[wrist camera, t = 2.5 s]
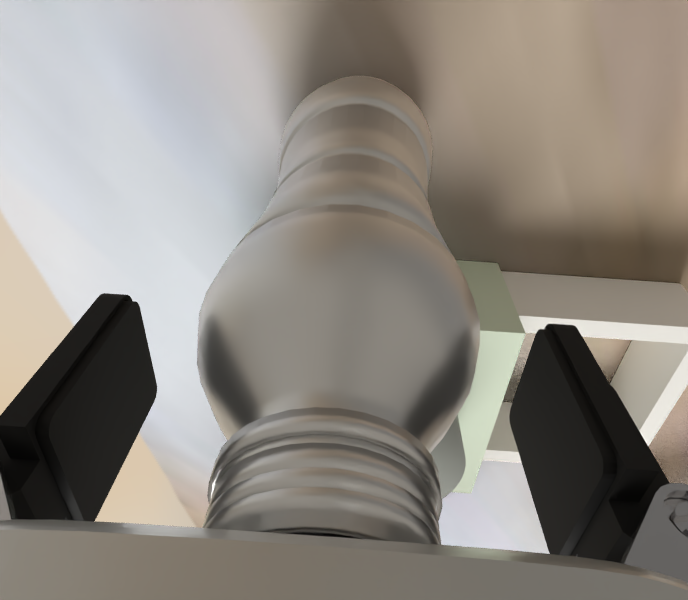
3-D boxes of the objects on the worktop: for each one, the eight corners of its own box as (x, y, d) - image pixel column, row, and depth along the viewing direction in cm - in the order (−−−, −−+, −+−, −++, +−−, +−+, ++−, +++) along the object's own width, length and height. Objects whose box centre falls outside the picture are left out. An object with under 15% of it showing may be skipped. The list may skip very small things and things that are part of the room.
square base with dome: (275, 247, 27) (238, 360, 19) (684, 275, 26) (803, 400, 19) (280, 401, 34) (255, 527, 26) (604, 424, 33) (669, 558, 26)
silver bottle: (456, 112, 22) (684, 560, 6) (377, 228, 26) (385, 709, 9) (330, 32, 21) (168, 347, 4) (265, 168, 24) (42, 621, 8)
